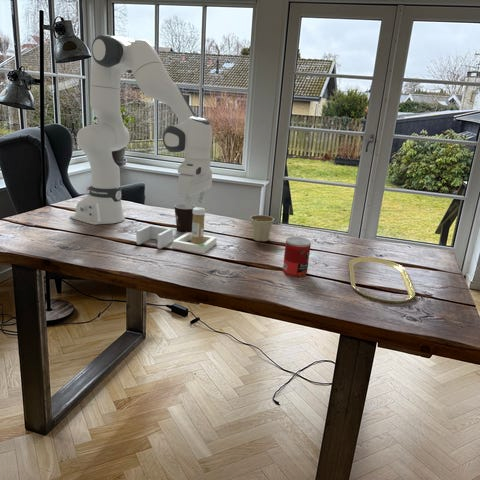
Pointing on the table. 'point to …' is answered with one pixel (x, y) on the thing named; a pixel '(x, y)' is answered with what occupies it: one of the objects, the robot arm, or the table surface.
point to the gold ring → (389, 263)
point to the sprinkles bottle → (198, 225)
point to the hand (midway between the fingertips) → (195, 205)
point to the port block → (184, 245)
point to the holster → (155, 235)
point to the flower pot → (261, 227)
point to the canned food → (296, 256)
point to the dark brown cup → (184, 218)
